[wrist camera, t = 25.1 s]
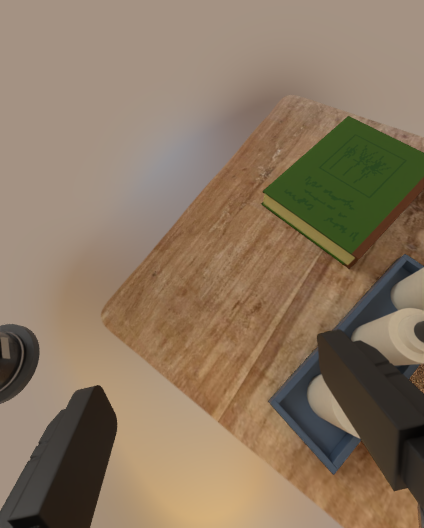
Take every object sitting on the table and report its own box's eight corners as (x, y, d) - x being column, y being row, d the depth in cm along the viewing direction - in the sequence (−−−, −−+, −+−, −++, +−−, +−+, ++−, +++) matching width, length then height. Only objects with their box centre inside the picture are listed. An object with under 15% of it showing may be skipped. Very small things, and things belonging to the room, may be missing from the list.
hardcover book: (349, 268, 40) (359, 259, 37) (261, 204, 47) (262, 191, 44) (433, 177, 46) (449, 161, 42) (343, 130, 52) (350, 113, 49)
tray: (326, 467, 31) (333, 475, 28) (267, 401, 34) (269, 403, 32) (457, 302, 37) (472, 298, 34) (395, 260, 40) (405, 253, 38)
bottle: (333, 432, 32) (395, 471, 19) (297, 395, 34) (332, 407, 21) (360, 398, 33) (437, 414, 20) (324, 364, 35) (373, 358, 22)
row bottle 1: (378, 375, 34) (462, 376, 21) (342, 343, 36) (398, 326, 23) (402, 346, 35) (496, 329, 22) (366, 316, 37) (433, 285, 24)
